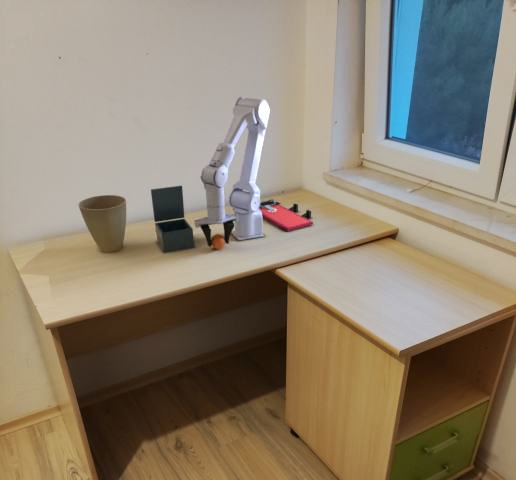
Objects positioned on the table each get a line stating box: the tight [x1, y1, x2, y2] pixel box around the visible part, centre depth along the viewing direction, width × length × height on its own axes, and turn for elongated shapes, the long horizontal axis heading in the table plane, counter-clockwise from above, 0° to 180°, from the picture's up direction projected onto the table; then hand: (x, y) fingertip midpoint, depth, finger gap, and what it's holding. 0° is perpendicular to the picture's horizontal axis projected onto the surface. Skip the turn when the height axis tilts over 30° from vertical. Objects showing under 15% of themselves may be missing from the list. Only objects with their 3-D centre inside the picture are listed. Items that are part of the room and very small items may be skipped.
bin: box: [154, 218, 195, 254], centre depth 171 cm, size 10×10×7 cm
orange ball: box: [211, 233, 226, 250], centre depth 169 cm, size 5×5×5 cm
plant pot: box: [77, 194, 127, 253], centre depth 167 cm, size 15×15×16 cm
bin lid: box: [150, 185, 185, 223], centre depth 169 cm, size 11×10×1 cm
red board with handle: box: [259, 198, 314, 232], centre depth 194 cm, size 30×3×15 cm
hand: (218, 244), depth 169 cm, fingers open, 5 cm apart
